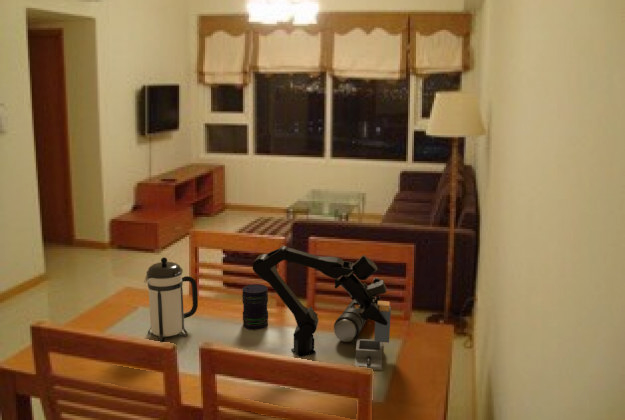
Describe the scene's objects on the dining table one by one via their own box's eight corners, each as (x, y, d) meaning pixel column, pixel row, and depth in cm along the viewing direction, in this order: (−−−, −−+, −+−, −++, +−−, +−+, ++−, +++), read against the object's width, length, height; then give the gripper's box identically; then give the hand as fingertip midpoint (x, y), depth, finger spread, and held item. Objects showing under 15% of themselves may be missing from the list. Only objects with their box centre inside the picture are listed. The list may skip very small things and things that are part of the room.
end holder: (354, 368, 198) (354, 357, 197) (357, 342, 218) (358, 332, 217) (381, 370, 197) (382, 359, 196) (382, 344, 216) (383, 333, 216)
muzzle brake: (374, 318, 240) (375, 294, 238) (357, 347, 214) (358, 320, 212) (351, 315, 243) (351, 291, 241) (331, 344, 217) (332, 317, 215)
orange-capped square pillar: (374, 341, 203) (375, 305, 200) (374, 335, 208) (376, 300, 205) (389, 342, 203) (391, 306, 200) (389, 336, 208) (391, 301, 205)
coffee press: (180, 345, 215) (177, 265, 209) (139, 341, 218) (135, 262, 212) (199, 326, 232) (196, 251, 225) (160, 322, 235) (157, 248, 228)
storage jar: (270, 320, 237) (269, 284, 234) (266, 330, 228) (265, 293, 225) (245, 319, 238) (244, 283, 235) (240, 329, 229) (239, 292, 226)
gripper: (372, 282, 192) (405, 317, 193) (373, 265, 210) (403, 297, 211) (346, 304, 194) (379, 338, 195) (350, 285, 213) (380, 316, 214)
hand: (386, 321), depth 204 cm, fingers closed on orange-capped square pillar, 5 cm apart
